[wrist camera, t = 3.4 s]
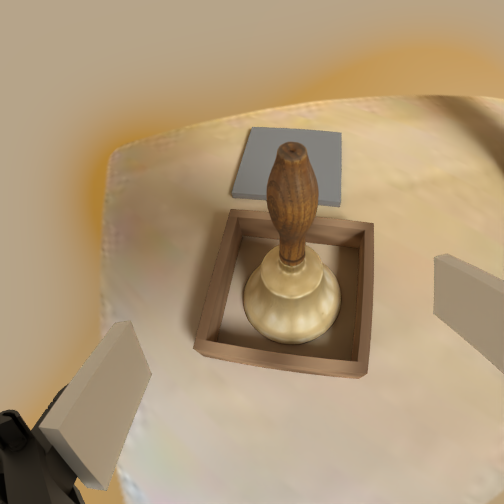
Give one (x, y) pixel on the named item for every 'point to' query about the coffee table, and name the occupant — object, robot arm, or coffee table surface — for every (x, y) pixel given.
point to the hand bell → (292, 259)
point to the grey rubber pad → (264, 154)
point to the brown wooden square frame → (318, 233)
